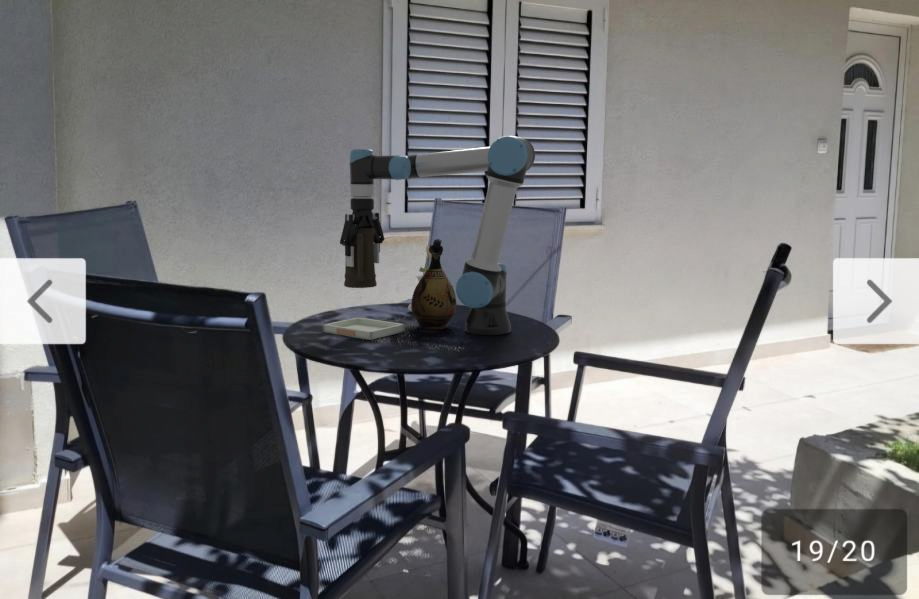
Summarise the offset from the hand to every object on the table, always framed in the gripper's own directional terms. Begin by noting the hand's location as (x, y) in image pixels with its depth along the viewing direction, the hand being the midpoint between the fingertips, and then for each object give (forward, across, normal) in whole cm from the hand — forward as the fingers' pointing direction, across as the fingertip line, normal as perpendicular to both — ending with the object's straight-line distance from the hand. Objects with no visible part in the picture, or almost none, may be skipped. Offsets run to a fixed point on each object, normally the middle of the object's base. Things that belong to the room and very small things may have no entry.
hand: (363, 264), depth 277 cm
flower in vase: (+23, -42, -8) cm, 48 cm away
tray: (+22, 0, 0) cm, 22 cm away
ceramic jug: (+23, -21, +13) cm, 33 cm away
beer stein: (+7, +1, 0) cm, 8 cm away
